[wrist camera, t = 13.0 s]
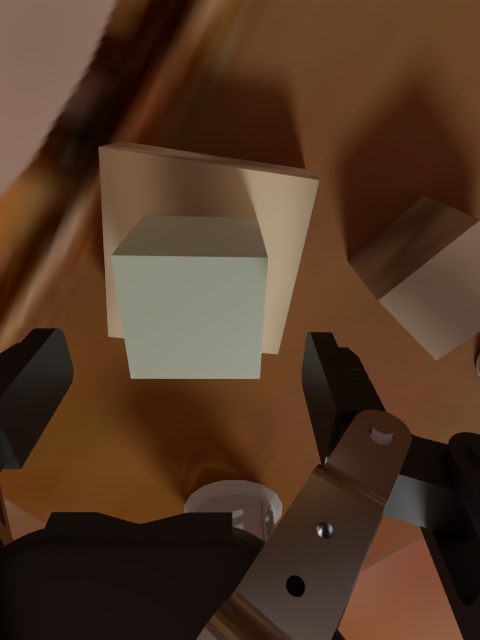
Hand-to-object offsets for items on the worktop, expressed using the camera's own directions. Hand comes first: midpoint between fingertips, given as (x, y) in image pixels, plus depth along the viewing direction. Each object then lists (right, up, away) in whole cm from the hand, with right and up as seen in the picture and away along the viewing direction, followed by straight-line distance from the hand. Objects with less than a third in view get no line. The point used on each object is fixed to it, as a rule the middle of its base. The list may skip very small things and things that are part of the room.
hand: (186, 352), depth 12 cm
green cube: (0, +4, +7) cm, 8 cm away
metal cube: (+12, +5, +11) cm, 17 cm away
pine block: (0, +6, +10) cm, 12 cm away
